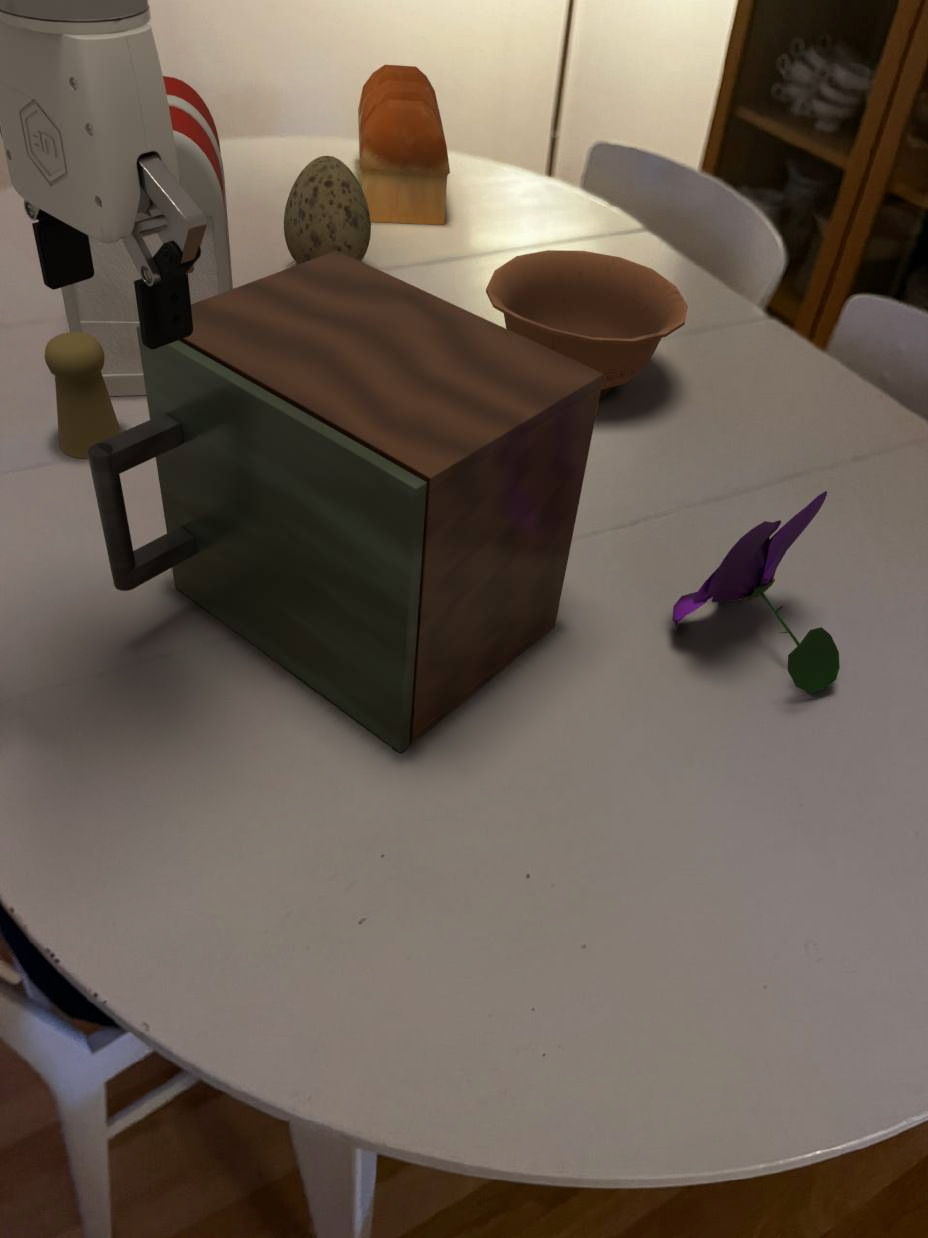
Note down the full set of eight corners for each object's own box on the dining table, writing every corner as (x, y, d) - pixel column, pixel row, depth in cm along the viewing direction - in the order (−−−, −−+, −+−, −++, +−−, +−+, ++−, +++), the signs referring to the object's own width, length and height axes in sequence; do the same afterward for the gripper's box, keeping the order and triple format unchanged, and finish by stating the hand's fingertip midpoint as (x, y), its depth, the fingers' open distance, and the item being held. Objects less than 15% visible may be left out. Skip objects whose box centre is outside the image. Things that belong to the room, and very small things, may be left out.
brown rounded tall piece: (75, 465, 98) (53, 361, 90) (48, 435, 101) (25, 333, 93) (134, 446, 101) (117, 344, 93) (106, 418, 104) (88, 317, 96)
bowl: (445, 395, 113) (452, 301, 105) (521, 317, 128) (532, 231, 120) (634, 454, 107) (656, 360, 99) (690, 366, 122) (713, 278, 115)
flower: (821, 677, 92) (733, 554, 94) (951, 611, 79) (847, 471, 81) (721, 754, 84) (628, 619, 86) (848, 695, 71) (736, 538, 73)
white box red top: (79, 397, 106) (24, 122, 88) (90, 318, 119) (44, 63, 101) (240, 392, 110) (220, 126, 91) (235, 315, 122) (216, 68, 104)
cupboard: (411, 745, 76) (430, 478, 59) (186, 581, 87) (150, 318, 71) (555, 627, 86) (604, 373, 70) (338, 494, 98) (337, 249, 81)
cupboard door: (332, 808, 71) (329, 540, 55) (104, 626, 82) (46, 359, 66) (409, 745, 75) (427, 481, 59) (183, 581, 87) (147, 321, 71)
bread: (446, 225, 147) (453, 116, 137) (359, 222, 146) (360, 111, 136) (435, 163, 165) (441, 63, 155) (357, 159, 164) (358, 58, 154)
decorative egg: (353, 302, 127) (354, 178, 117) (272, 285, 129) (266, 162, 118) (380, 268, 135) (384, 150, 125) (304, 253, 136) (301, 135, 126)
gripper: (-99, -49, 51) (-19, 278, 63) (107, 33, 44) (155, 388, 55) (36, -60, 56) (87, 247, 67) (244, 13, 48) (261, 345, 60)
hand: (117, 310), depth 61 cm, fingers open, 9 cm apart
